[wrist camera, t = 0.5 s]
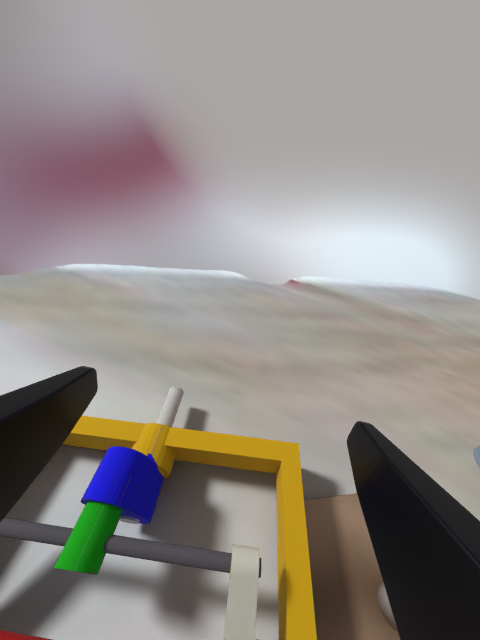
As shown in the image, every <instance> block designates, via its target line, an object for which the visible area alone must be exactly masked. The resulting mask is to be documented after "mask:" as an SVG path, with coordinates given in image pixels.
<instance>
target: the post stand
mask: <svg viewBox="0 0 480 640" xmlns="http://www.w3.org/2000/svg"><path fill="white" fill-rule="evenodd" d="M304 507H305V517H306V528H307V539H308V549H309V560H310V571H311V581H312V592H313V603H314V613H315V624H316V634H317V640H400V637H399V633H398V630H397V627H396V623H395V620H394V617H393V613H392V610H391V606H390V603H389V600H388V596H387V593H386V590H385V586H384V583H383V580H382V576H381V573H380V569H379V566H378V563H377V559H376V556H375V553H374V549H373V546H372V542H371V539H370V536H369V532H368V529H367V526H366V522H365V519H364V515H363V512H362V509H361V505H360V502H359V498H358V495H357V494H349V495H341V496H333V497H326V498H318V499H310V500H304Z"/></svg>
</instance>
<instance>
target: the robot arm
mask: <svg viewBox="0 0 480 640" xmlns="http://www.w3.org/2000/svg"><path fill="white" fill-rule="evenodd" d="M97 389H98V385H97V373H96V370H95V369H94V368H91V367H86V366H81V367H78V368H75V369H72V370H69V371H67V372H64V373H61V374H59V375H56V376H53V377H50V378H48V379H45V380H42V381H39V382H37V383H34V384H31V385H28V386H26V387H23V388H20V389H17V390H15V391H12V392H9V393H6V394H4V395H1V396H0V523H1V521H2V520H3V519H4V517H5V516H6V515H7V514H8V512H9V511H10V510H11V509H12V507H13V506H14V505H15V503H16V502H17V501H18V500H19V498H20V497H21V496H22V495H23V493H24V492H25V491H26V490H27V488H28V487H29V486H30V484H31V483H32V482H33V481H34V479H35V478H36V477H37V476H38V474H39V473H40V472H41V470H42V469H43V468H44V467H45V465H46V464H47V463H48V462H49V460H50V459H51V458H52V457H53V455H54V454H55V453H56V451H57V450H58V449H59V448H60V446H61V445H62V444H63V442H64V441H65V440H66V438H67V437H68V436H69V434H70V433H71V431H72V430H73V428H74V427H75V425H76V424H77V422H78V421H79V419H80V418H81V416H82V414H83V413H84V411H85V410H86V408H87V407H88V405H89V404H90V402H91V401H92V399H93V398H94V396H95V394H96V392H97ZM347 446H348V451H349V456H350V461H351V466H352V471H353V476H354V481H355V486H356V490H357V495H358V498H359V502H360V505H361V509H362V512H363V515H364V519H365V522H366V526H367V529H368V532H369V536H370V539H371V542H372V546H373V549H374V553H375V556H376V559H377V563H378V566H379V569H380V573H381V576H382V580H383V583H384V586H385V590H386V593H387V596H388V600H389V603H390V606H391V610H392V613H393V617H394V620H395V623H396V627H397V630H398V633H399V637H400V640H480V521H479V520H478V519H477V518H476V517H474V516H473V515H472V514H471V513H470V512H469V511H468V510H467V509H466V508H464V507H463V506H462V505H461V504H460V503H459V502H458V501H457V500H455V499H454V498H453V497H452V496H451V495H450V494H449V493H448V492H447V491H445V490H444V489H443V488H442V487H441V486H440V485H439V484H438V483H436V482H435V481H434V480H433V479H432V478H431V477H430V476H429V475H428V474H426V473H425V472H424V471H423V470H422V469H421V468H420V467H419V466H417V465H416V464H415V463H414V462H413V461H412V460H411V459H410V458H409V457H407V456H406V455H405V454H404V453H403V452H402V451H401V450H400V449H398V448H397V447H396V446H395V445H394V444H393V443H392V442H391V441H390V440H388V439H387V438H386V437H385V436H384V435H383V434H382V433H381V432H379V431H378V430H377V429H376V428H375V427H374V426H373V425H372V424H370V423H366V422H361V421H358V422H356V423H355V425H354V427H353V428H352V430H351V432H350V434H349V436H348V438H347Z"/></svg>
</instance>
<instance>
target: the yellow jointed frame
mask: <svg viewBox="0 0 480 640" xmlns="http://www.w3.org/2000/svg"><path fill="white" fill-rule="evenodd" d="M183 393H184V392H183V390H182V389H181V388H178V387H171V388H170V390H169V393H168V395H167V398H166V400H165V403H164V405H163V408H162V410H161V413H160V415H159V418H158V420H157V423H148V424H142V423H135V422H127V421H119V420H111V419H103V418H96V417H88V416H81V418H80V419H79V421H78V422H77V424H76V425H75V427H74V428H73V430H72V431H71V433H70V434H69V436H68V437H67V438H66V440H65V441H64V442H63V445H70V446H77V447H85V448H92V449H99V450H107V452H106V454H105V456H104V457H103V459H102V461H101V463H100V465H99V467H98V469H97V471H96V473H95V475H94V476H93V478H92V480H91V482H90V484H89V486H88V488H87V490H86V492H85V494H84V496H83V497H82V499H81V502H82V503H83V504H85V507H84V509H83V511H82V513H81V515H80V517H79V519H78V521H77V523H76V525H75V527H74V529H72V528H66V527H60V526H53V525H47V524H41V523H34V522H28V521H21V520H15V519H9V518H4V519H3V520H2V521H1V523H0V536H4V537H10V538H16V539H22V540H28V541H35V542H41V543H47V544H53V545H59V546H65V547H64V549H63V551H62V553H61V555H60V557H59V559H58V561H57V562H56V564H55V566H54V568H59V569H65V570H71V571H77V572H83V573H89V574H95V575H97V574H98V572H99V569H100V567H101V564H102V562H103V559H104V557H105V554H106V553H109V554H115V555H121V556H128V557H134V558H140V559H146V560H152V561H159V562H165V563H171V564H177V565H183V566H190V567H196V568H202V569H208V570H214V571H221V572H227V573H230V578H229V589H228V599H227V609H226V619H225V630H224V640H254V638H255V623H256V608H257V593H258V578H260V577H261V558H259V548H253V547H247V546H241V545H234V544H233V548H232V553H226V552H219V551H213V550H207V549H200V548H194V547H187V546H181V545H175V544H168V543H162V542H155V541H149V540H143V539H136V538H130V537H124V536H117V535H113V534H114V532H115V529H116V526H117V524H118V521H119V520H120V521H123V522H127V523H133V524H139V523H142V524H148V523H150V522H151V518H152V515H153V512H154V509H155V506H156V502H157V499H158V496H159V493H160V490H161V486H162V483H163V480H164V478H167V477H169V476H170V473H171V470H172V466H173V463H174V460H180V461H187V462H195V463H202V464H209V465H217V466H224V467H231V468H239V469H246V470H253V471H261V472H268V473H275V474H276V493H277V548H278V602H279V640H317V634H316V624H315V613H314V603H313V592H312V581H311V571H310V560H309V549H308V539H307V528H306V517H305V507H304V496H303V486H302V475H301V464H300V454H299V444H298V443H290V442H282V441H274V440H267V439H259V438H251V437H243V436H236V435H228V434H220V433H212V432H204V431H197V430H189V429H181V428H173V427H172V425H173V422H174V419H175V416H176V413H177V411H178V408H179V405H180V402H181V399H182V396H183ZM0 640H52V639H46V638H41V637H35V636H30V635H25V634H19V633H14V632H8V631H3V630H0ZM256 640H257V639H256Z"/></svg>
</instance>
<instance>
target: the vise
mask: <svg viewBox="0 0 480 640" xmlns="http://www.w3.org/2000/svg"><path fill="white" fill-rule="evenodd" d="M474 458H475V460H476V462H477V464H478V466H479V467H480V446H478V447H476V448H475V449H474Z"/></svg>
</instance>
